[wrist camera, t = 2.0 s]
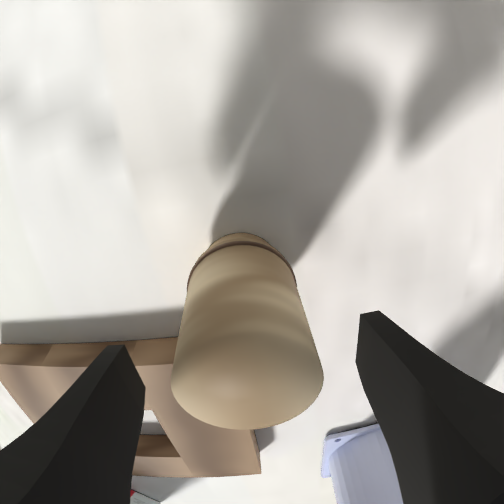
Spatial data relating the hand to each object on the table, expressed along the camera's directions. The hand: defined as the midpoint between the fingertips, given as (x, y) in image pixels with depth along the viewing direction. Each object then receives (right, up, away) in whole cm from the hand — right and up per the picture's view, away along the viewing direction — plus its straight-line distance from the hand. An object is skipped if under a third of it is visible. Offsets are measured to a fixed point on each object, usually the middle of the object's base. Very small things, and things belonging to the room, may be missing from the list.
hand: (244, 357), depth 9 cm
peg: (0, +2, +5) cm, 6 cm away
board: (-8, -8, +10) cm, 15 cm away
